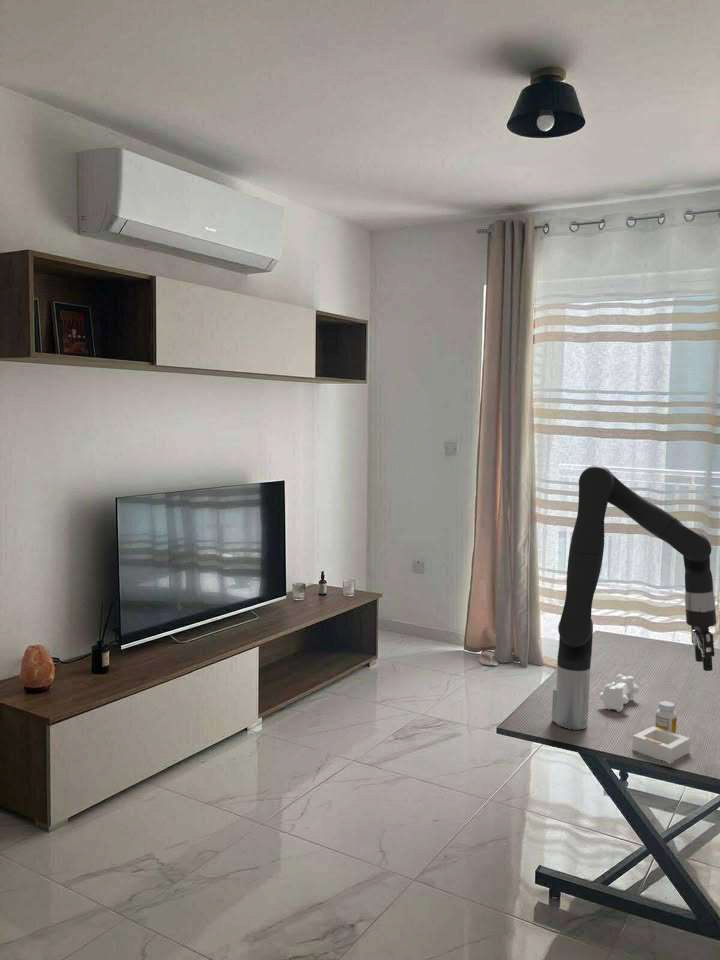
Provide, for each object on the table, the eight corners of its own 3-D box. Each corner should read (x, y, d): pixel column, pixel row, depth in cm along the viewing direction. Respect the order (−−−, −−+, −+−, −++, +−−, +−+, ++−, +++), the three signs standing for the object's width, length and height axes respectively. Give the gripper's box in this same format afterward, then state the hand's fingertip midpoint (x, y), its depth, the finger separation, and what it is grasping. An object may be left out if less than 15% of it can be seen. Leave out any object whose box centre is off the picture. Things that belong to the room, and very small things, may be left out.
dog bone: (613, 697, 256) (612, 671, 256) (640, 700, 251) (639, 674, 251) (598, 710, 244) (597, 684, 244) (627, 714, 239) (625, 687, 239)
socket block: (632, 750, 214) (633, 734, 213) (652, 740, 221) (653, 725, 220) (669, 763, 206) (670, 747, 205) (689, 752, 213) (690, 737, 212)
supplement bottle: (670, 733, 226) (672, 700, 225) (678, 741, 220) (680, 707, 219) (651, 733, 225) (653, 700, 225) (659, 741, 220) (661, 707, 219)
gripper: (679, 602, 224) (683, 659, 225) (691, 613, 210) (695, 674, 211) (708, 601, 223) (711, 658, 224) (722, 612, 209) (725, 673, 210)
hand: (703, 665), depth 218 cm, fingers open, 8 cm apart
